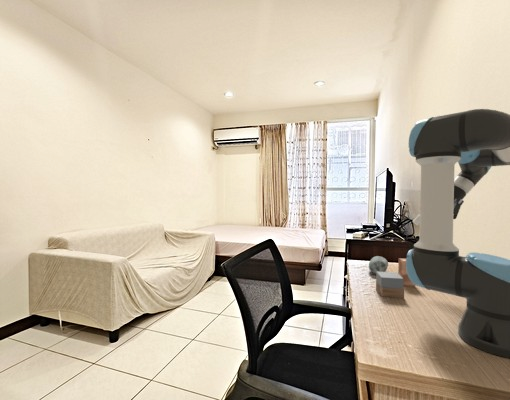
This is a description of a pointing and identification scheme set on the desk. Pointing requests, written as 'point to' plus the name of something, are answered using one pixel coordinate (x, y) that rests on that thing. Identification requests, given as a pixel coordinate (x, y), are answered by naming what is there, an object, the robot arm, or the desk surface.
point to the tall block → (404, 272)
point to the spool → (378, 264)
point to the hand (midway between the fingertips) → (424, 226)
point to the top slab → (389, 280)
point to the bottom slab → (390, 292)
